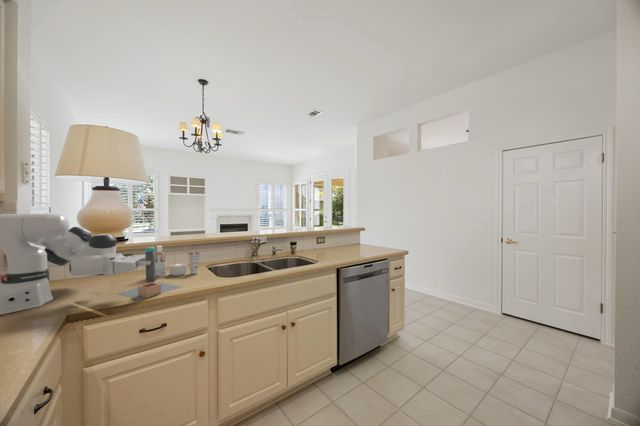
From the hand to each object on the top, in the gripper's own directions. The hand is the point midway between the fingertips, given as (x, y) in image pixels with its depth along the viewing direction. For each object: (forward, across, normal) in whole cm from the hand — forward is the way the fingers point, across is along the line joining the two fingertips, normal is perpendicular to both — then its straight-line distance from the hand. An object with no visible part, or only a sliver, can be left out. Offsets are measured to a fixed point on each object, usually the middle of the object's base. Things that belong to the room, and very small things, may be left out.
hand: (152, 261), depth 117 cm
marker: (-1, 0, -10) cm, 10 cm away
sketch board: (-2, -7, -16) cm, 18 cm away
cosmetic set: (+5, -36, -17) cm, 40 cm away
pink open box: (-1, 0, -16) cm, 16 cm away
